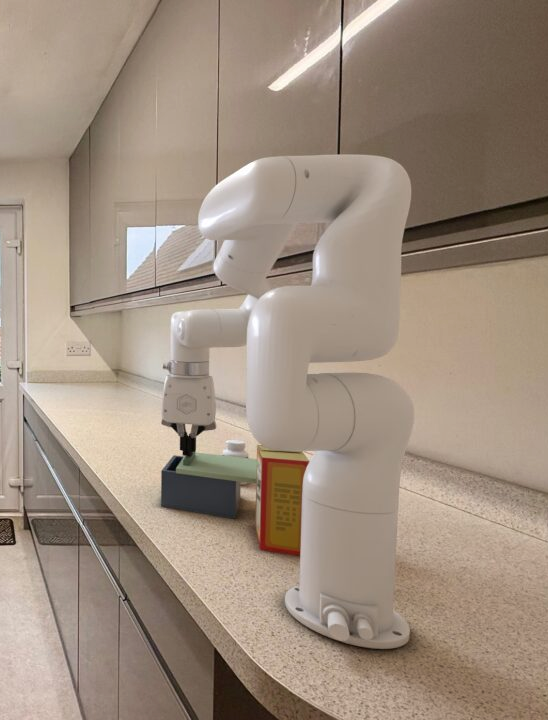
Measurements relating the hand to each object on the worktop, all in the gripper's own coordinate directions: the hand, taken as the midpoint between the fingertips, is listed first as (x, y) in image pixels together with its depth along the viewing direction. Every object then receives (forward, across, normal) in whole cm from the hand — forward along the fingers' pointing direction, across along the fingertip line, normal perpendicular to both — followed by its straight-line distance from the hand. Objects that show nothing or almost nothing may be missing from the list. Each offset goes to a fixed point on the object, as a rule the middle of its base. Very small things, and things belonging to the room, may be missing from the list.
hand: (187, 454), depth 106 cm
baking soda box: (+10, +17, -14) cm, 24 cm away
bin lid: (+2, +6, 0) cm, 7 cm away
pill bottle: (+10, +8, +18) cm, 22 cm away
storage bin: (+10, +3, 0) cm, 10 cm away
